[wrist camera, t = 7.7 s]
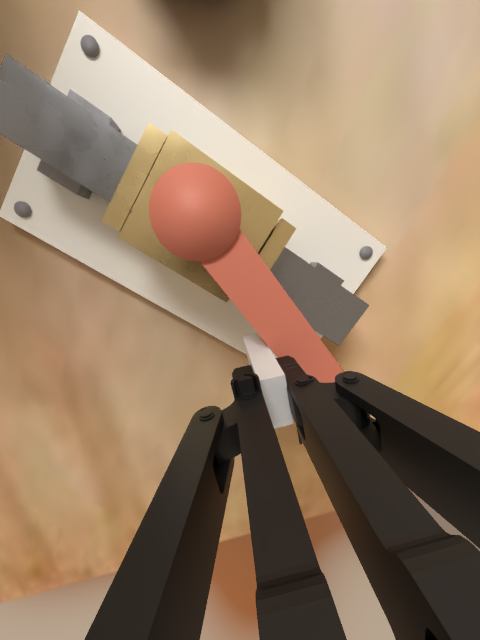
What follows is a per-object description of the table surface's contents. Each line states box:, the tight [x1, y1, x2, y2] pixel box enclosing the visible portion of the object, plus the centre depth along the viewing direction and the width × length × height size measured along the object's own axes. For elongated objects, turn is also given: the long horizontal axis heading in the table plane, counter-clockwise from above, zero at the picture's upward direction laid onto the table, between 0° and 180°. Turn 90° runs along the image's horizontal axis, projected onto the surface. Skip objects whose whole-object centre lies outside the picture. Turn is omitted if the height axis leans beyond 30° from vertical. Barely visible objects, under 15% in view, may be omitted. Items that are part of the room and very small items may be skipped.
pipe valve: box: [0, 54, 369, 345], centre depth 19 cm, size 28×7×9 cm, turn 58°
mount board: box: [0, 11, 387, 358], centre depth 22 cm, size 30×16×1 cm, turn 58°
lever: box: [149, 162, 344, 383], centre depth 15 cm, size 17×4×2 cm, turn 38°
